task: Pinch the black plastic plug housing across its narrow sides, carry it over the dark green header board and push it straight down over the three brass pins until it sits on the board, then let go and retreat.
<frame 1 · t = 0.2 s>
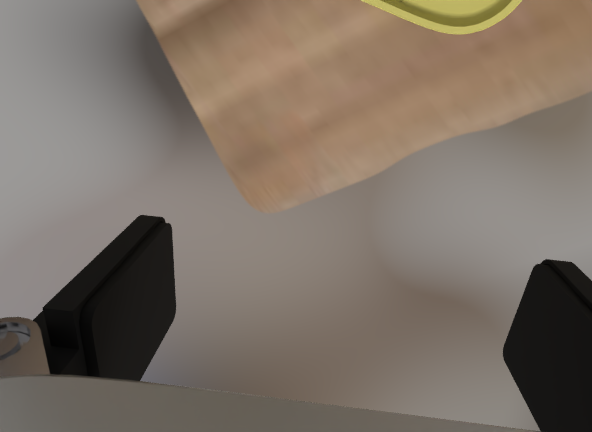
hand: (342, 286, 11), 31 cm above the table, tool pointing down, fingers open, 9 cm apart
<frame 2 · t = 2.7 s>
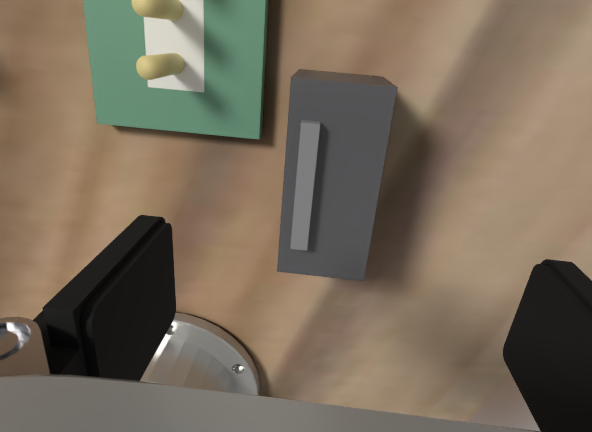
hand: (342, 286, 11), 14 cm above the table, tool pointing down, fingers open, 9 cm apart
header: (180, 10, 21), on the table
plug: (330, 159, 23), on the table
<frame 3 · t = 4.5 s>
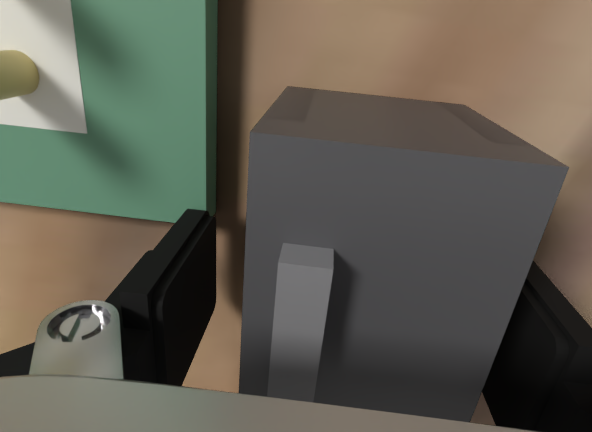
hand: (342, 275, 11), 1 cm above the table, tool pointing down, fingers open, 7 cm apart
plug: (348, 257, 12), on the table
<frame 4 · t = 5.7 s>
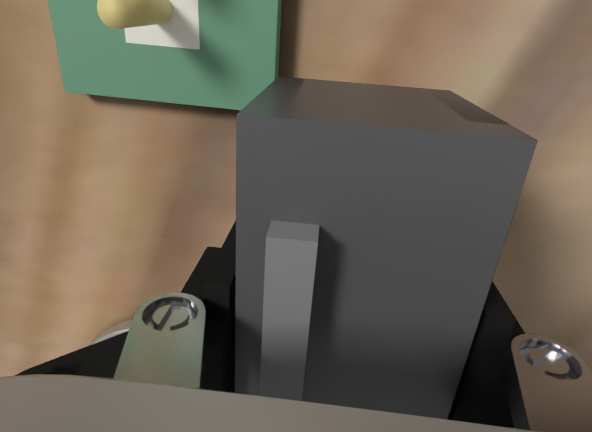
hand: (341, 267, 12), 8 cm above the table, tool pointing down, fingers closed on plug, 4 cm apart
plug: (342, 243, 13), point 7 cm above the table, touching gripper
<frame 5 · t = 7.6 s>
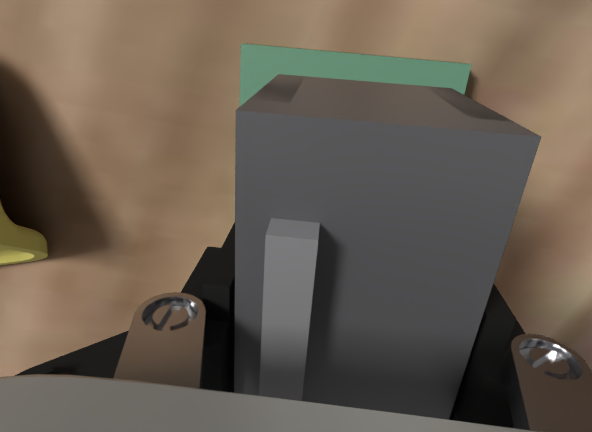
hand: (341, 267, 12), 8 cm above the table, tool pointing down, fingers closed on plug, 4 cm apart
header: (336, 189, 19), on the table
plug: (342, 242, 12), point 7 cm above the table, touching gripper
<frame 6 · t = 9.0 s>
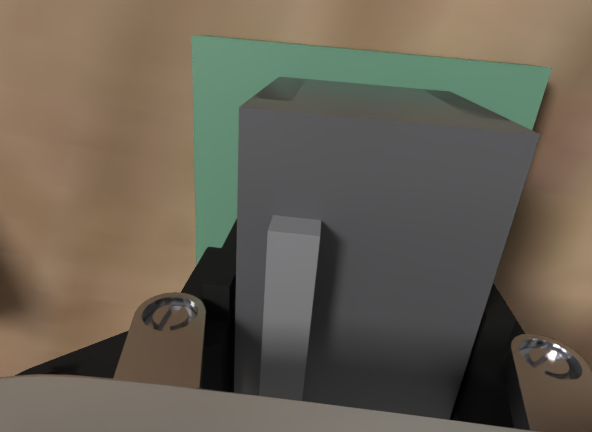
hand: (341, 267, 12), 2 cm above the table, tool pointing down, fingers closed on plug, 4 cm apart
header: (338, 244, 14), on the table
plug: (341, 244, 12), point 1 cm above the table, touching gripper, header
when the fingers open (2 cm above the table, at t = 9.9 s): plug stays where it is, resting on header.
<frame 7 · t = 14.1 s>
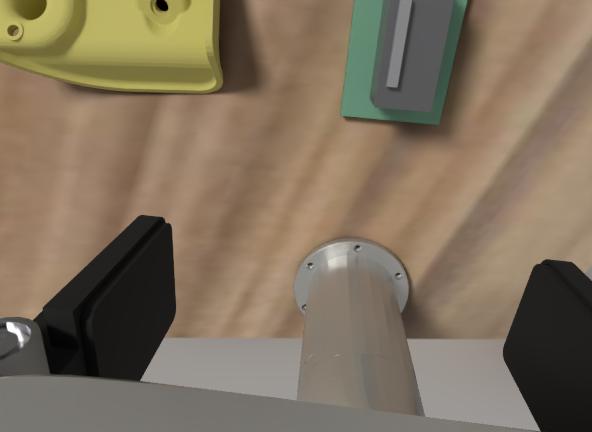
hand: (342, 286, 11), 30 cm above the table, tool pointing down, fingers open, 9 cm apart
header: (400, 49, 36), on the table
plastic component: (122, 14, 37), on the table
plug: (403, 43, 35), point 1 cm above the table, touching header
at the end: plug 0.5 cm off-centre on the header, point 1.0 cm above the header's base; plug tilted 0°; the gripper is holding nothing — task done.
